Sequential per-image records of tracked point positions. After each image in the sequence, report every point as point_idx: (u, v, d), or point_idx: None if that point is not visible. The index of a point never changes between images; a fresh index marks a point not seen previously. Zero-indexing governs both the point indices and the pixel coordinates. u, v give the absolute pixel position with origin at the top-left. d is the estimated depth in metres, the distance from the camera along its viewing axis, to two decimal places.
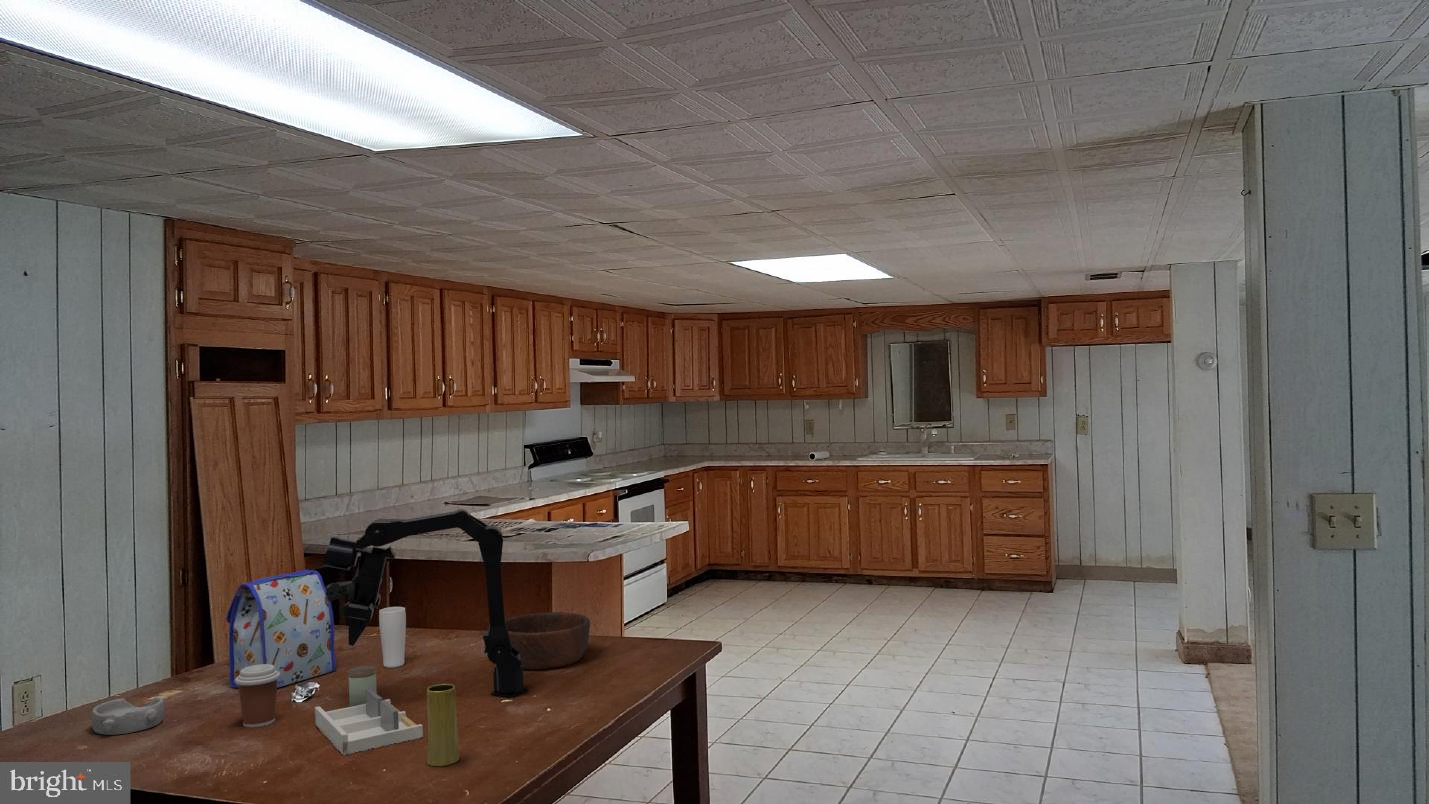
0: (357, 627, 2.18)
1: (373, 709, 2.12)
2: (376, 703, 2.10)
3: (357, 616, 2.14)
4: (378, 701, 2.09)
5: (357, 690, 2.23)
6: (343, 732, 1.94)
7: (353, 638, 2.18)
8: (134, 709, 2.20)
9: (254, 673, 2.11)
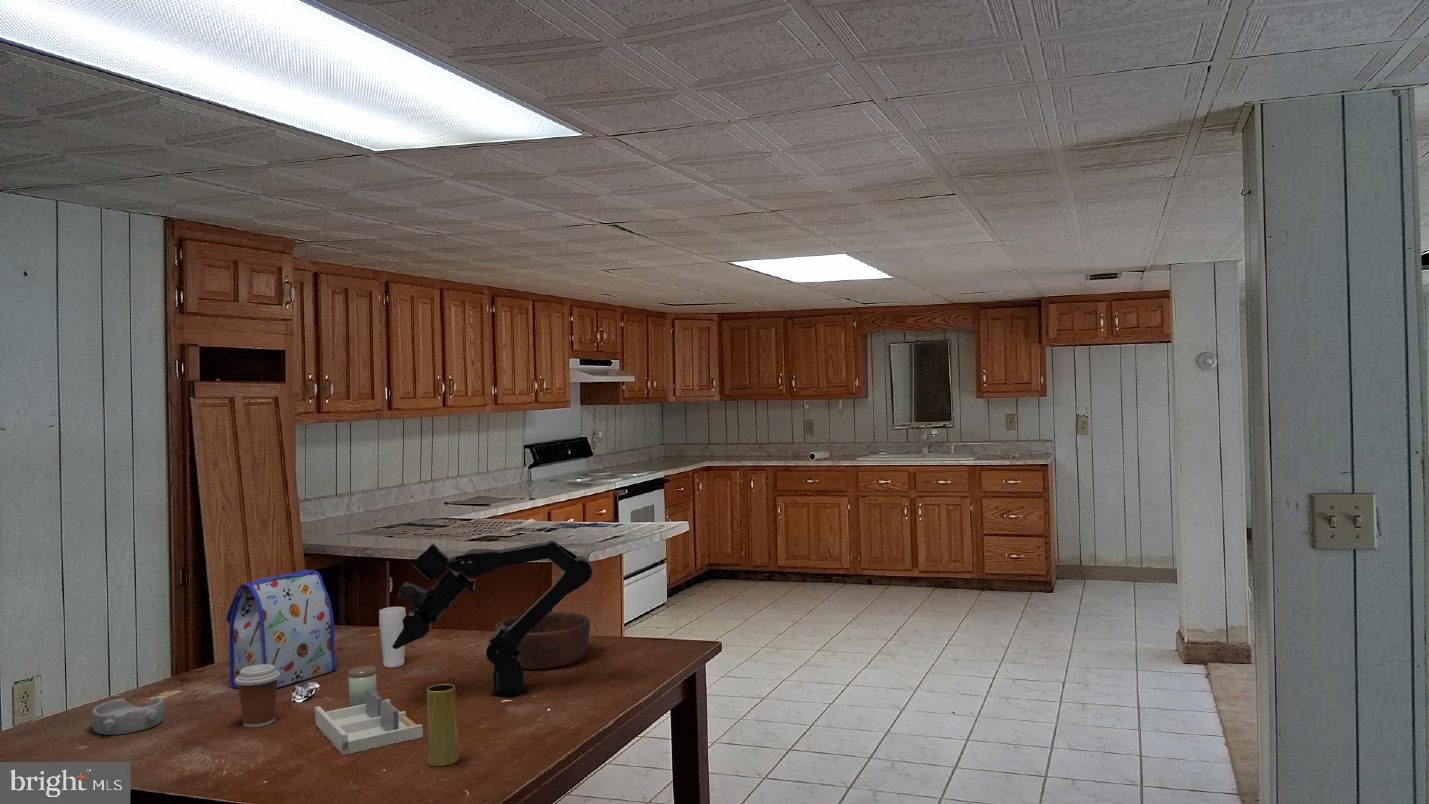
0: (408, 636, 2.22)
1: (373, 709, 2.12)
2: (376, 703, 2.10)
3: (415, 628, 2.19)
4: (378, 701, 2.09)
5: (357, 690, 2.23)
6: (343, 732, 1.94)
7: (399, 643, 2.22)
8: (134, 709, 2.20)
9: (254, 673, 2.11)
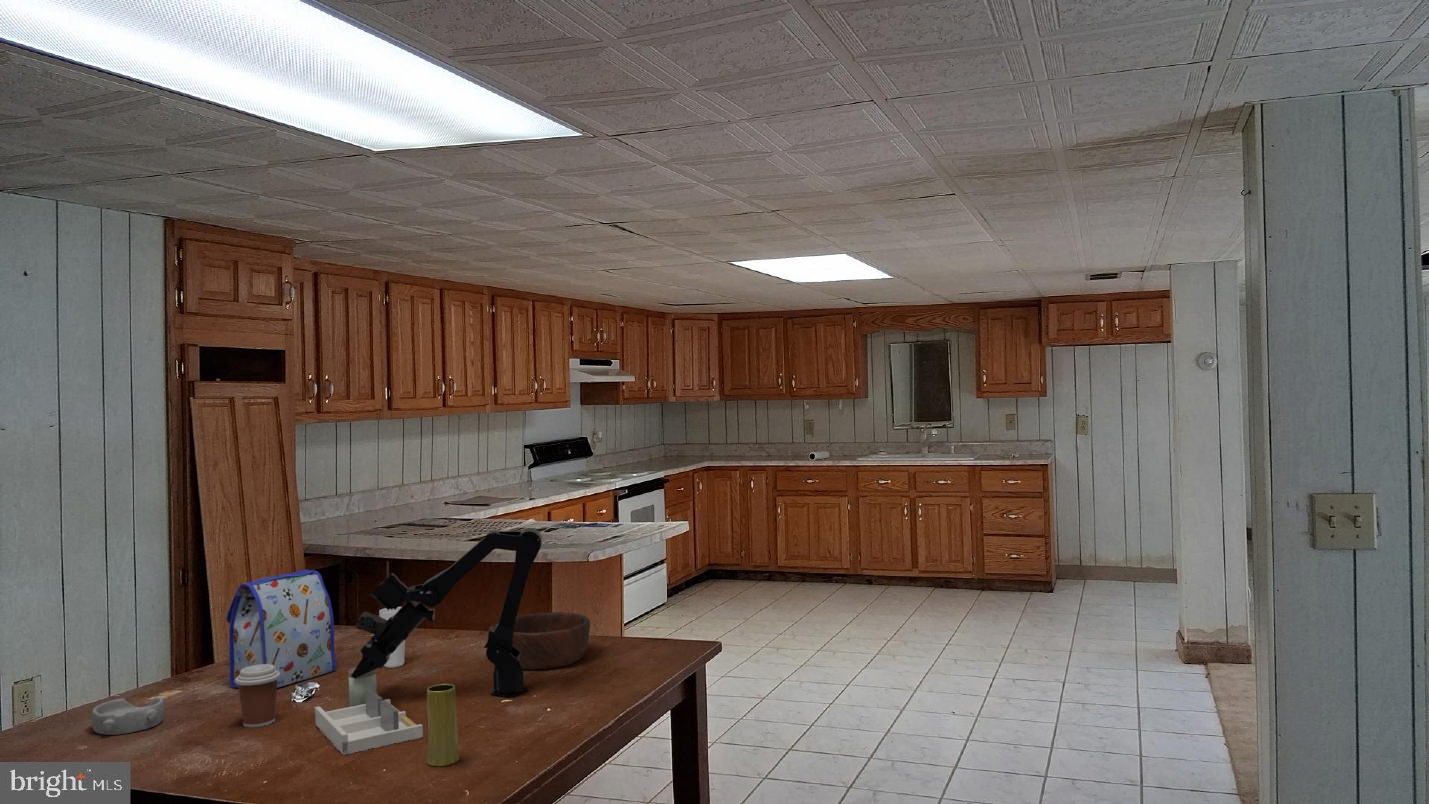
0: (367, 665, 2.22)
1: (373, 709, 2.12)
2: (376, 703, 2.10)
3: (372, 659, 2.18)
4: (378, 701, 2.09)
5: (357, 690, 2.23)
6: (343, 732, 1.94)
7: (358, 672, 2.22)
8: (134, 709, 2.20)
9: (254, 673, 2.11)
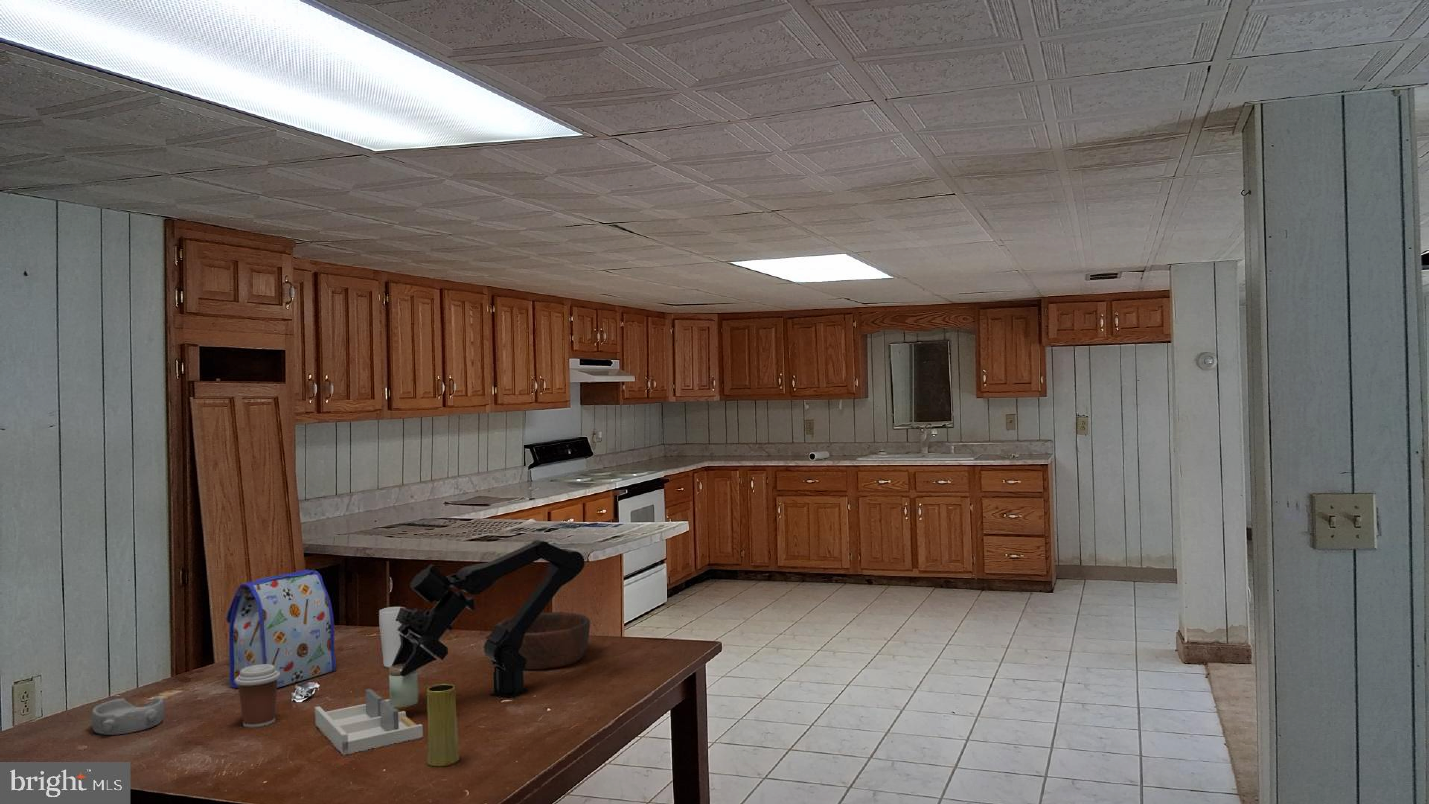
0: (418, 660, 2.14)
1: (373, 709, 2.12)
2: (376, 703, 2.10)
3: (435, 652, 2.11)
4: (378, 701, 2.09)
5: (405, 688, 2.14)
6: (343, 732, 1.94)
7: (408, 669, 2.13)
8: (134, 709, 2.20)
9: (254, 673, 2.11)
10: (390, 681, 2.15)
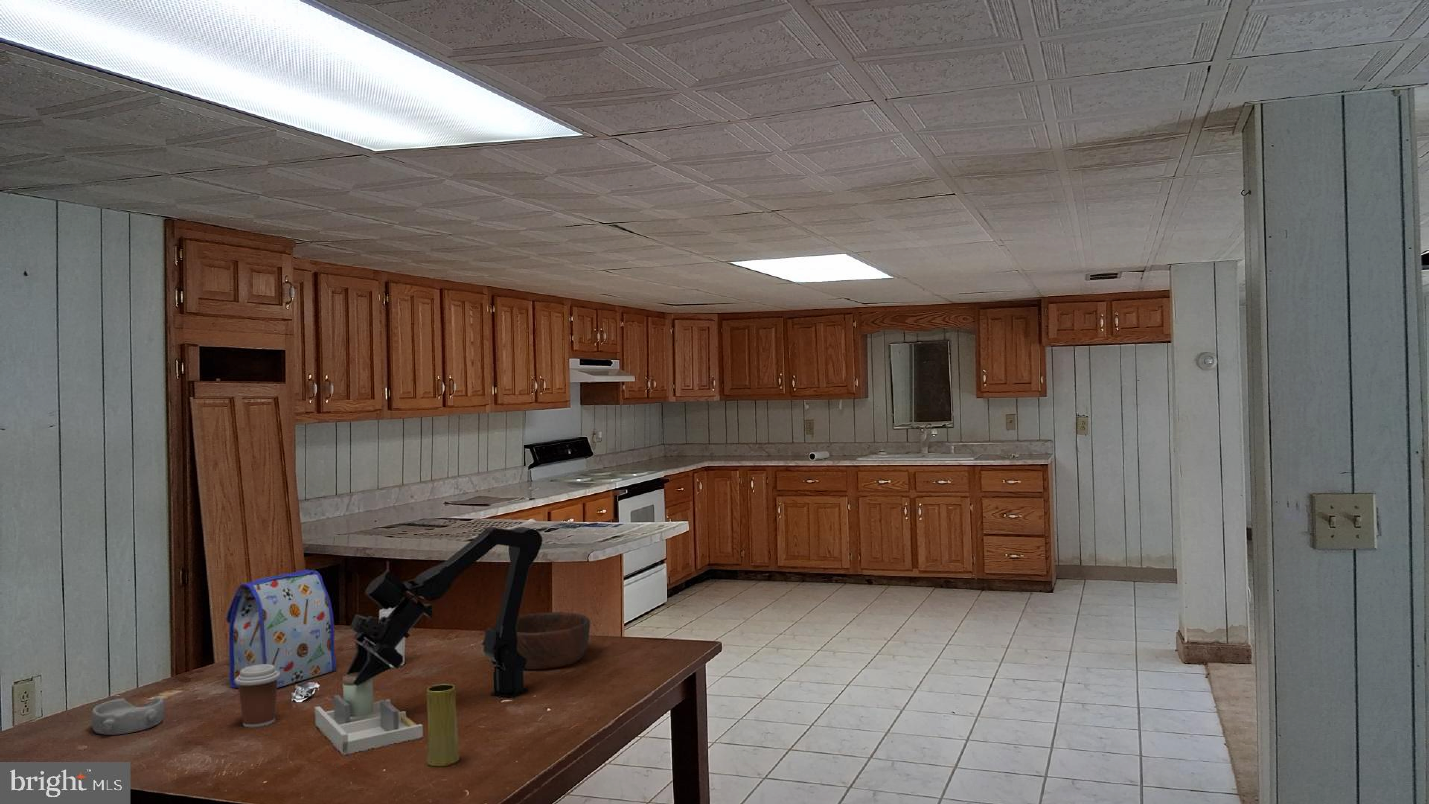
0: (373, 669, 2.09)
1: (341, 716, 2.08)
2: (343, 709, 2.06)
3: (389, 660, 2.06)
4: (345, 708, 2.05)
5: (359, 698, 2.08)
6: (343, 732, 1.94)
7: (362, 678, 2.08)
8: (134, 709, 2.20)
9: (254, 673, 2.11)
10: (344, 690, 2.09)
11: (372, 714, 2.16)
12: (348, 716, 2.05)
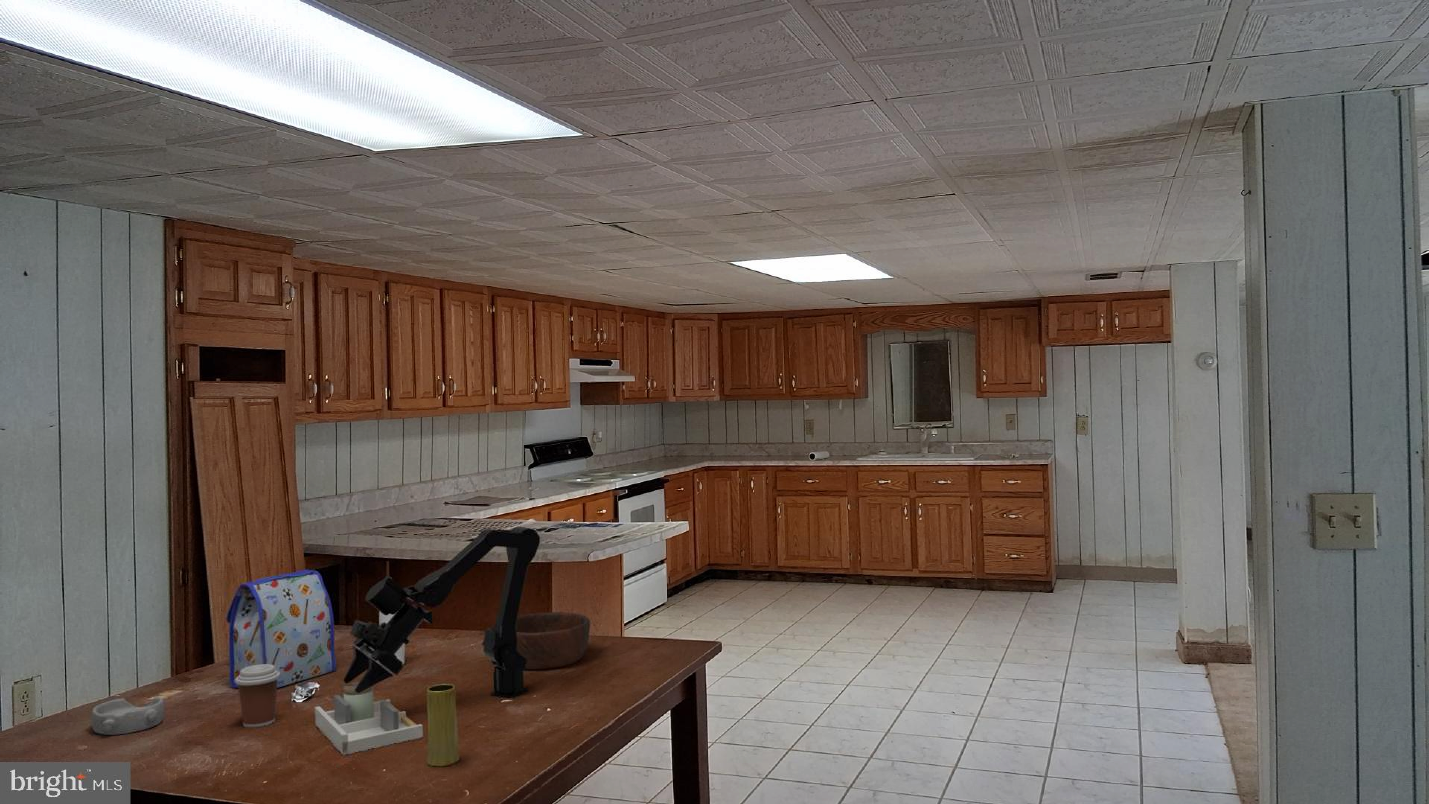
0: (374, 677, 2.07)
1: (341, 716, 2.08)
2: (344, 709, 2.06)
3: (389, 667, 2.06)
4: (345, 708, 2.05)
5: (360, 708, 2.08)
6: (343, 732, 1.94)
7: (364, 686, 2.06)
8: (134, 709, 2.20)
9: (254, 673, 2.11)
10: None
11: None
12: (348, 716, 2.05)
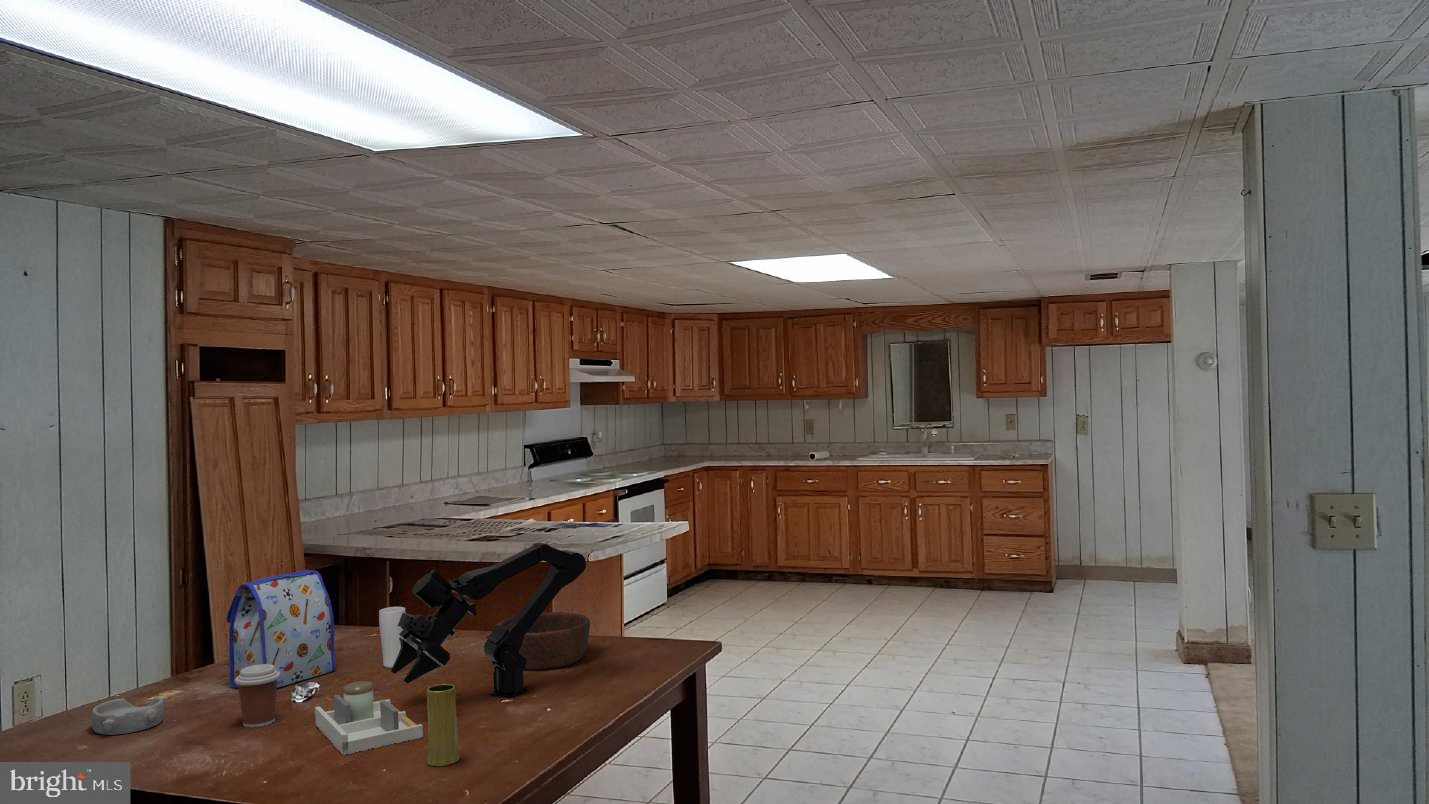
0: (422, 667, 2.13)
1: (341, 716, 2.08)
2: (344, 709, 2.06)
3: (437, 658, 2.12)
4: (345, 708, 2.05)
5: (360, 708, 2.08)
6: (343, 732, 1.94)
7: (413, 676, 2.13)
8: (134, 709, 2.20)
9: (254, 673, 2.11)
10: None
11: None
12: (348, 716, 2.05)
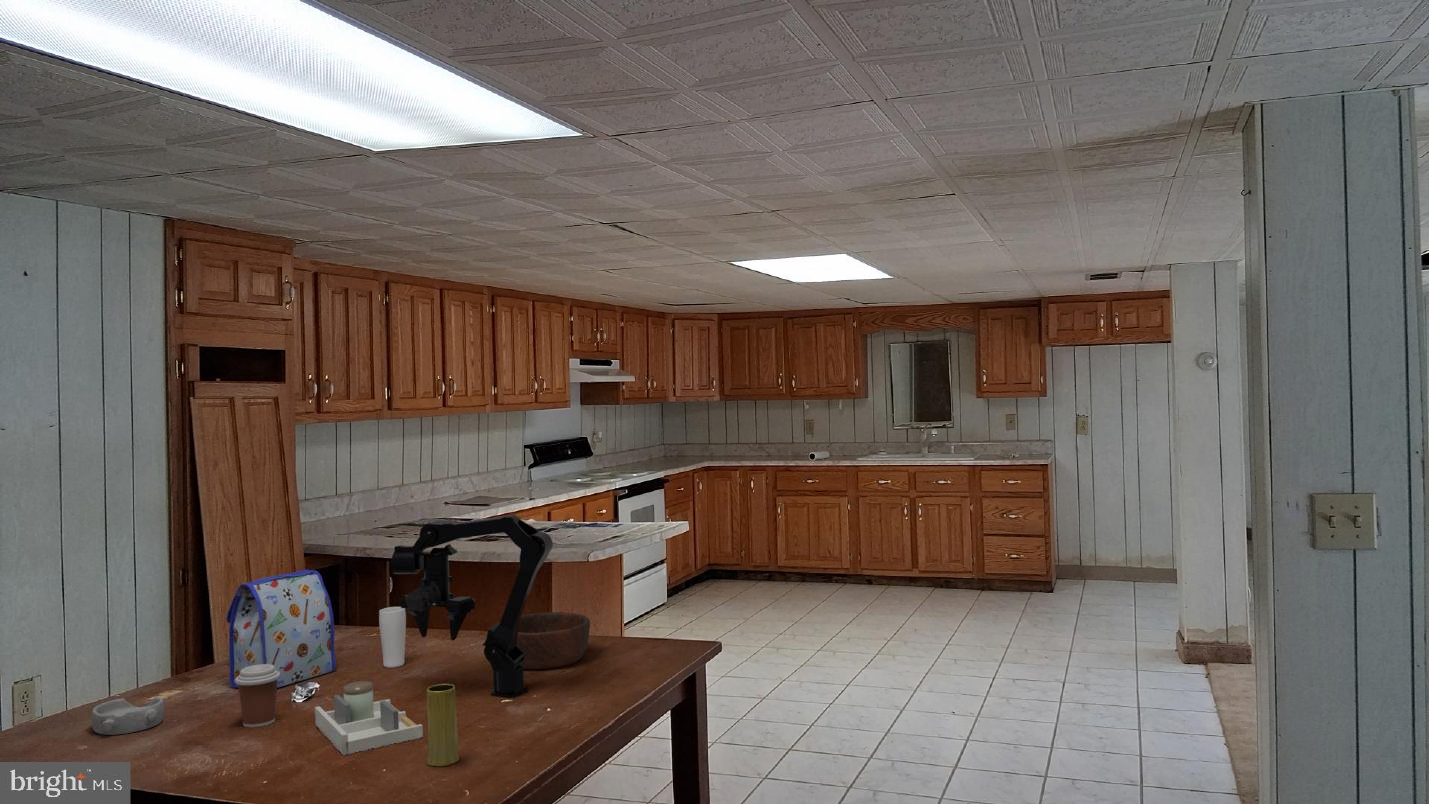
0: (458, 621, 2.31)
1: (341, 716, 2.08)
2: (344, 709, 2.06)
3: (468, 609, 2.29)
4: (346, 708, 2.05)
5: (360, 708, 2.08)
6: (343, 732, 1.94)
7: (456, 632, 2.31)
8: (134, 709, 2.20)
9: (254, 673, 2.11)
10: None
11: None
12: (348, 716, 2.05)
